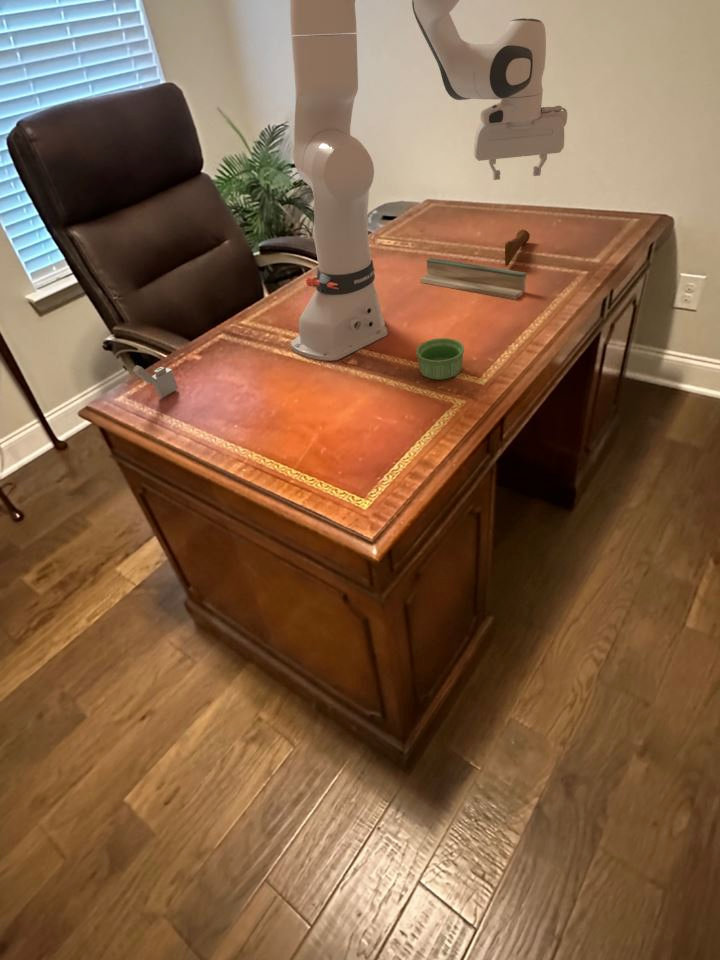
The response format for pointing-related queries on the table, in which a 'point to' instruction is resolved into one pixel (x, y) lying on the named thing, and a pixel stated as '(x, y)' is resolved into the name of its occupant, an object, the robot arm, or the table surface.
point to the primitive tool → (515, 245)
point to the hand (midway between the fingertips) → (516, 177)
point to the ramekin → (440, 358)
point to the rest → (475, 278)
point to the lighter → (158, 380)
